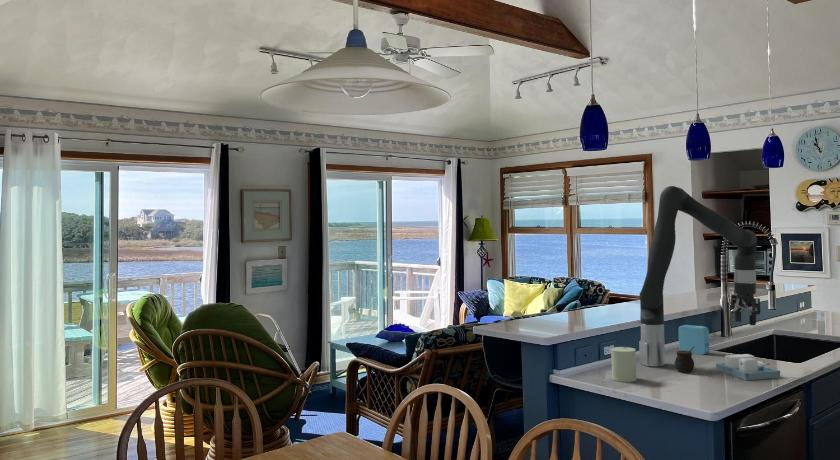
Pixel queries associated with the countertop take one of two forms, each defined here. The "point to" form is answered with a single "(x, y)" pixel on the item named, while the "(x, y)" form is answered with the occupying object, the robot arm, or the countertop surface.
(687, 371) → the mate gourd
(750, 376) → the dock
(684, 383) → the countertop surface
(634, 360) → the can
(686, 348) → the light blue square block
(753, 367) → the power adapter
